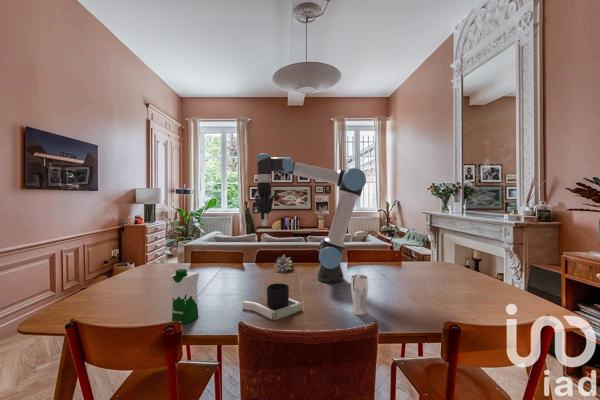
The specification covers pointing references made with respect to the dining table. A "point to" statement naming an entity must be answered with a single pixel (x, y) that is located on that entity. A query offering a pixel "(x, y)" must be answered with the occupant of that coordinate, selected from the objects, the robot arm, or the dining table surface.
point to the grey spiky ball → (283, 263)
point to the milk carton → (184, 296)
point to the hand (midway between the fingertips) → (264, 225)
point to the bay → (274, 315)
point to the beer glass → (359, 294)
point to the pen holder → (277, 296)
